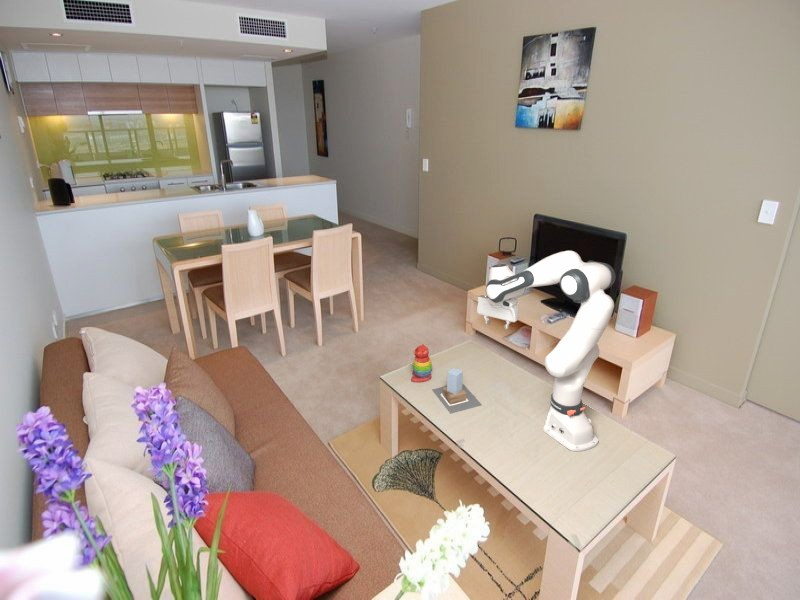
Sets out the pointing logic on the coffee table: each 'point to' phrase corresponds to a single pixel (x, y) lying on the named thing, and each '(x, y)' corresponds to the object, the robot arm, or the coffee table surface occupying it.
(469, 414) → the coffee table surface
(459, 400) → the base block
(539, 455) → the coffee table surface
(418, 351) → the stacking bear
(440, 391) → the build mat
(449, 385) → the pillar
